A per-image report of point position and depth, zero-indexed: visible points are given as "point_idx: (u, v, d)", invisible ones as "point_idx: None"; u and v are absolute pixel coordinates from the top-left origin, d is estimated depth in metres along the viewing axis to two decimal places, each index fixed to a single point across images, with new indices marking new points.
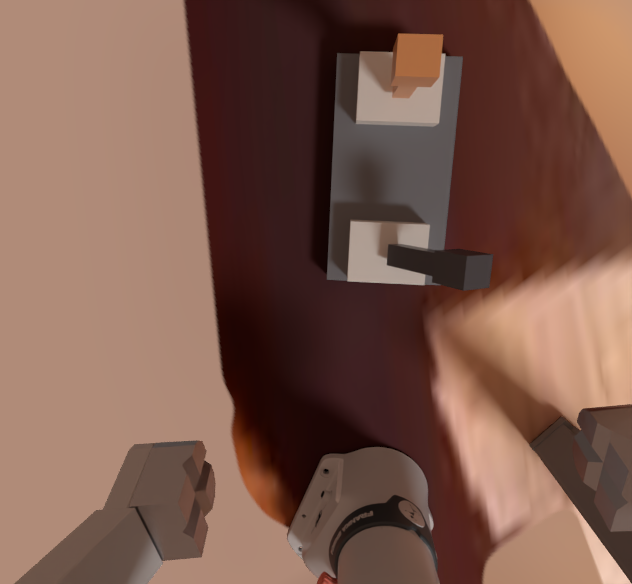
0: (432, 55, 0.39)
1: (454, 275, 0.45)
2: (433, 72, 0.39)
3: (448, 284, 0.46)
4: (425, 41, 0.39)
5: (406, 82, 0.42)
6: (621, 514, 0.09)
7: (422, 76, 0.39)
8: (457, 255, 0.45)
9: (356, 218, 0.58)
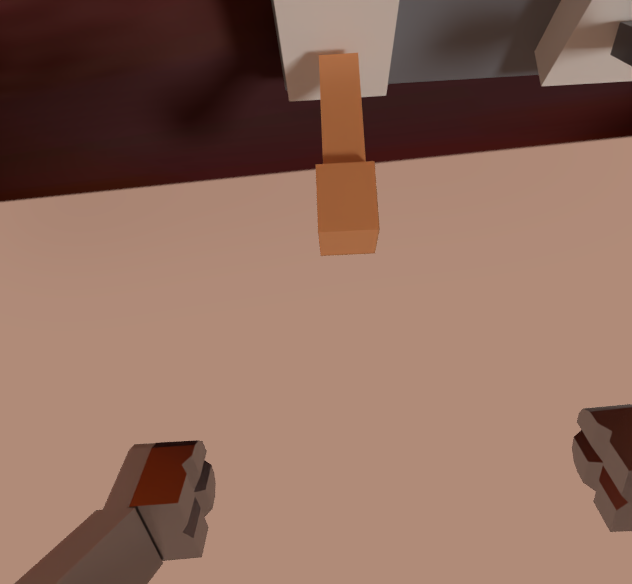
0: (348, 236, 0.26)
1: None
2: (371, 233, 0.26)
3: None
4: (328, 241, 0.27)
5: None
6: (620, 514, 0.09)
7: None
8: None
9: (536, 44, 0.34)
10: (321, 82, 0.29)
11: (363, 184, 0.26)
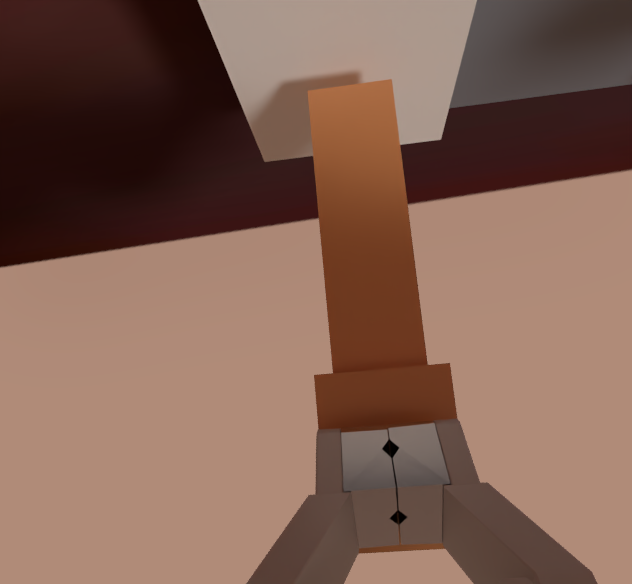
0: None
1: None
2: None
3: None
4: None
5: None
6: (405, 528, 0.09)
7: None
8: None
9: None
10: (316, 154, 0.13)
11: None
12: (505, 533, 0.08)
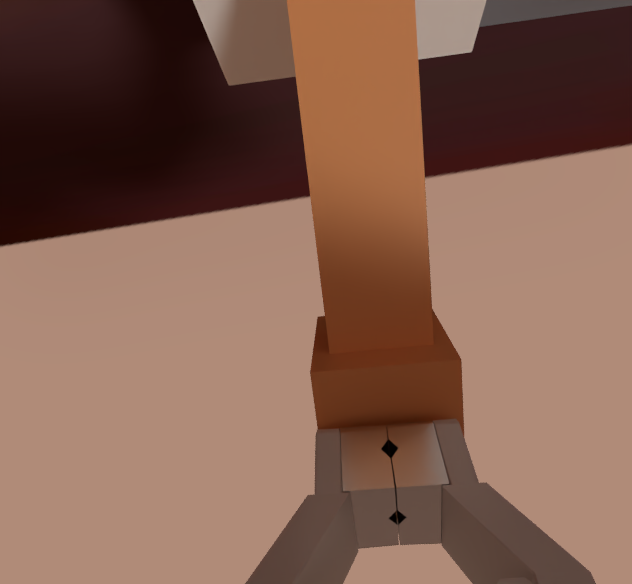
0: None
1: None
2: None
3: None
4: None
5: None
6: (404, 528, 0.09)
7: None
8: None
9: None
10: (300, 73, 0.10)
11: (431, 418, 0.11)
12: (504, 533, 0.08)
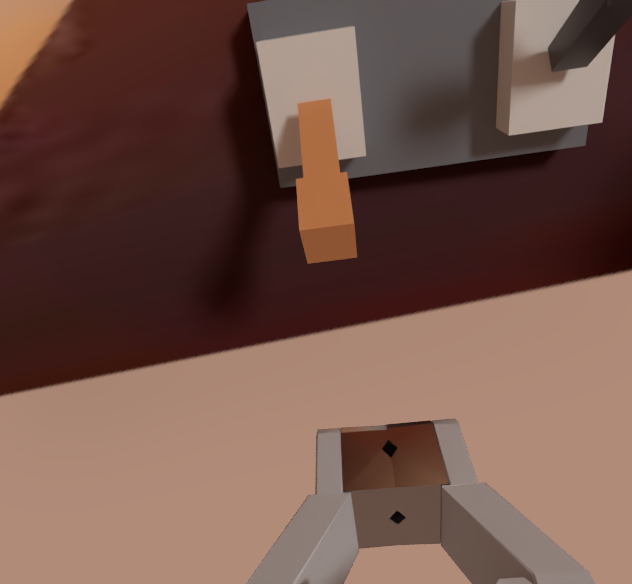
0: (327, 234, 0.28)
1: None
2: (348, 229, 0.28)
3: None
4: (311, 242, 0.29)
5: None
6: (403, 528, 0.09)
7: (354, 236, 0.29)
8: None
9: (494, 119, 0.39)
10: (300, 122, 0.34)
11: (337, 190, 0.29)
12: (503, 533, 0.08)
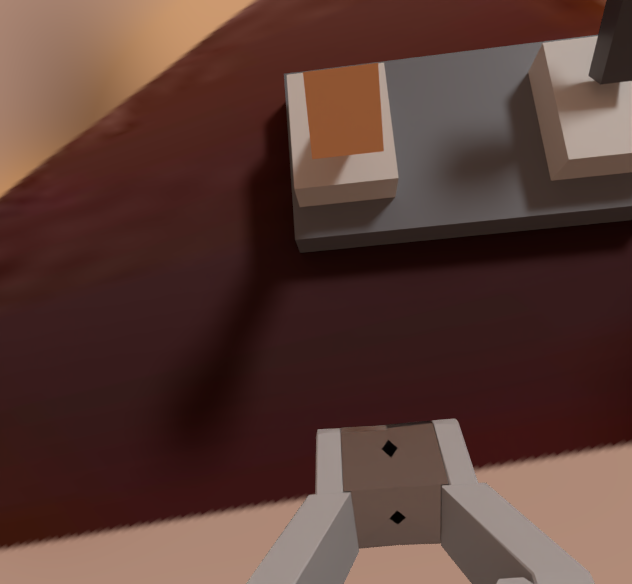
0: (341, 86, 0.21)
1: None
2: (370, 77, 0.20)
3: None
4: (318, 104, 0.21)
5: None
6: (403, 528, 0.09)
7: (379, 97, 0.21)
8: None
9: (546, 171, 0.34)
10: None
11: None
12: (503, 533, 0.08)
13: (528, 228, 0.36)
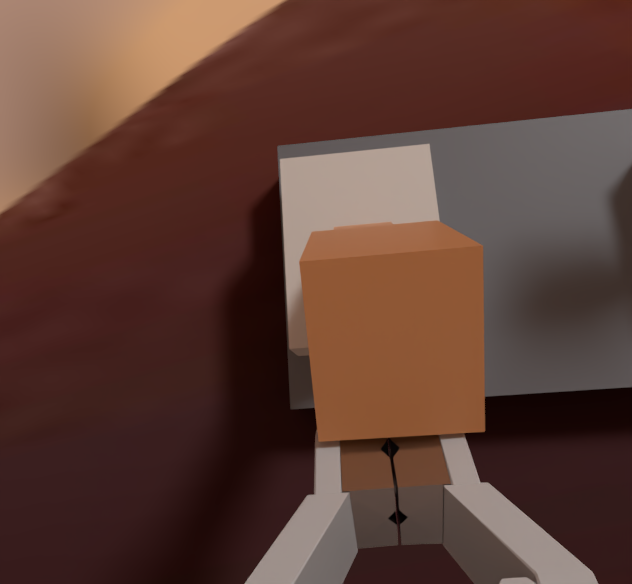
0: (392, 295, 0.09)
1: None
2: (462, 276, 0.08)
3: None
4: (335, 332, 0.09)
5: None
6: (405, 528, 0.09)
7: (480, 319, 0.09)
8: None
9: None
10: None
11: (418, 229, 0.11)
12: (506, 533, 0.08)
13: None
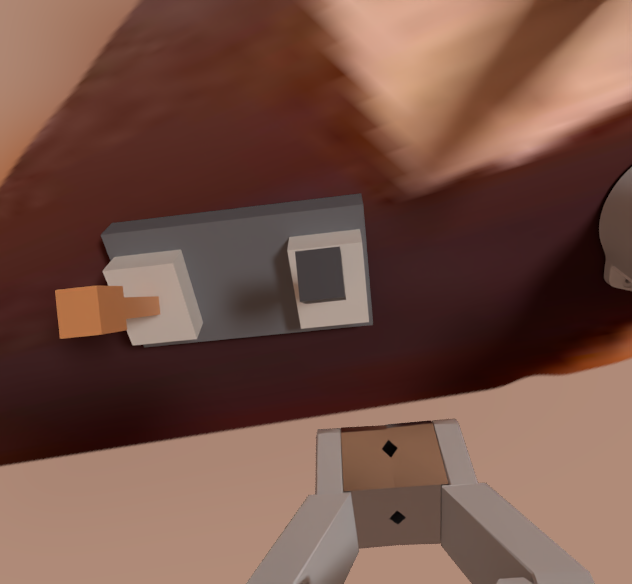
0: (76, 298, 0.35)
1: (329, 299, 0.35)
2: (92, 293, 0.35)
3: (342, 298, 0.36)
4: (63, 307, 0.35)
5: (115, 316, 0.37)
6: (403, 528, 0.09)
7: (98, 304, 0.35)
8: (302, 302, 0.35)
9: None
10: None
11: None
12: (503, 533, 0.08)
13: None
